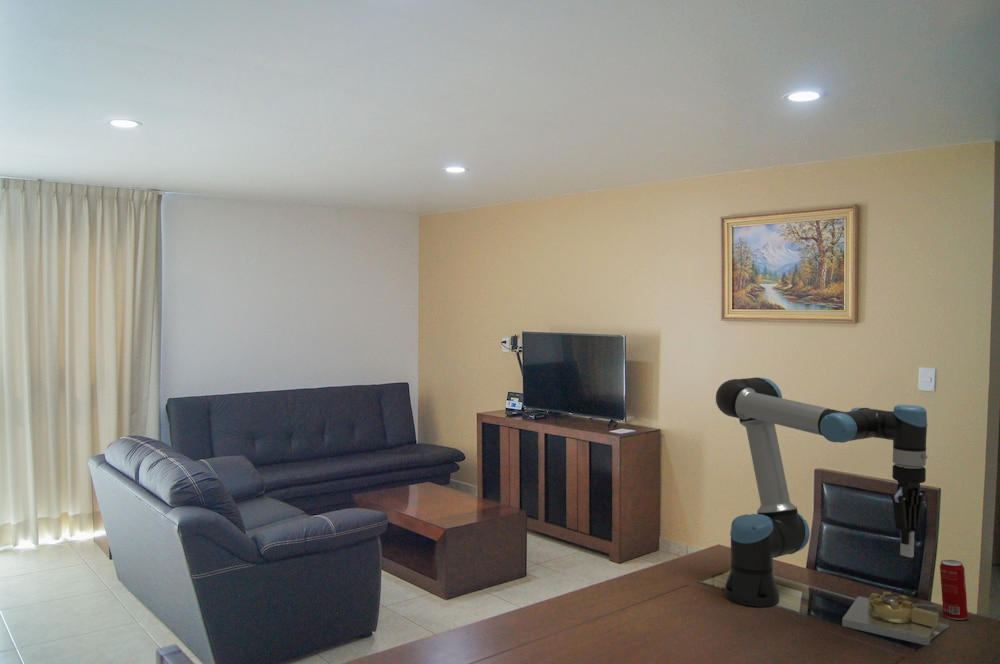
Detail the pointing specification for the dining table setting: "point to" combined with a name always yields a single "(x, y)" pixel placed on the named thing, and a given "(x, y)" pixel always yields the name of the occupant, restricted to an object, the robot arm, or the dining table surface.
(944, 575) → the beverage can
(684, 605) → the dining table surface
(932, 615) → the gold knob with handle
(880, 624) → the flange plate
